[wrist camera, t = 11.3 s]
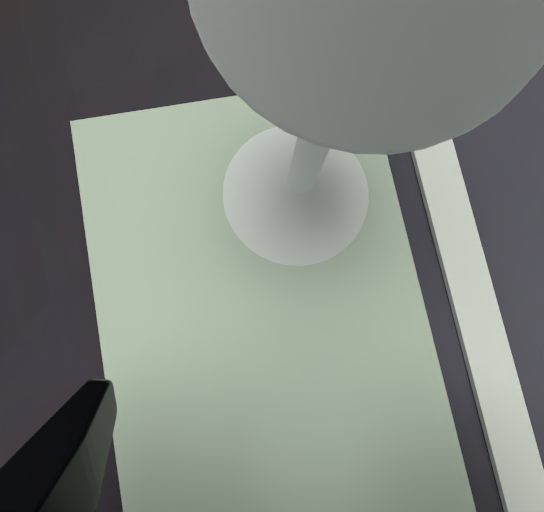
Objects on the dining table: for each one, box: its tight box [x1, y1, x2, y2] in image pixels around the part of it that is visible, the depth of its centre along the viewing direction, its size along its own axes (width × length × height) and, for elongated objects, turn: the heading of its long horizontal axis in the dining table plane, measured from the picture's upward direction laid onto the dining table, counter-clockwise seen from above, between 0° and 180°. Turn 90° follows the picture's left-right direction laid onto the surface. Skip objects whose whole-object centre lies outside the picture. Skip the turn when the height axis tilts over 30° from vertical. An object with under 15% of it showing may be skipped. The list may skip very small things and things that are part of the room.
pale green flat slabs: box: [70, 95, 544, 512], centre depth 21 cm, size 22×18×1 cm
